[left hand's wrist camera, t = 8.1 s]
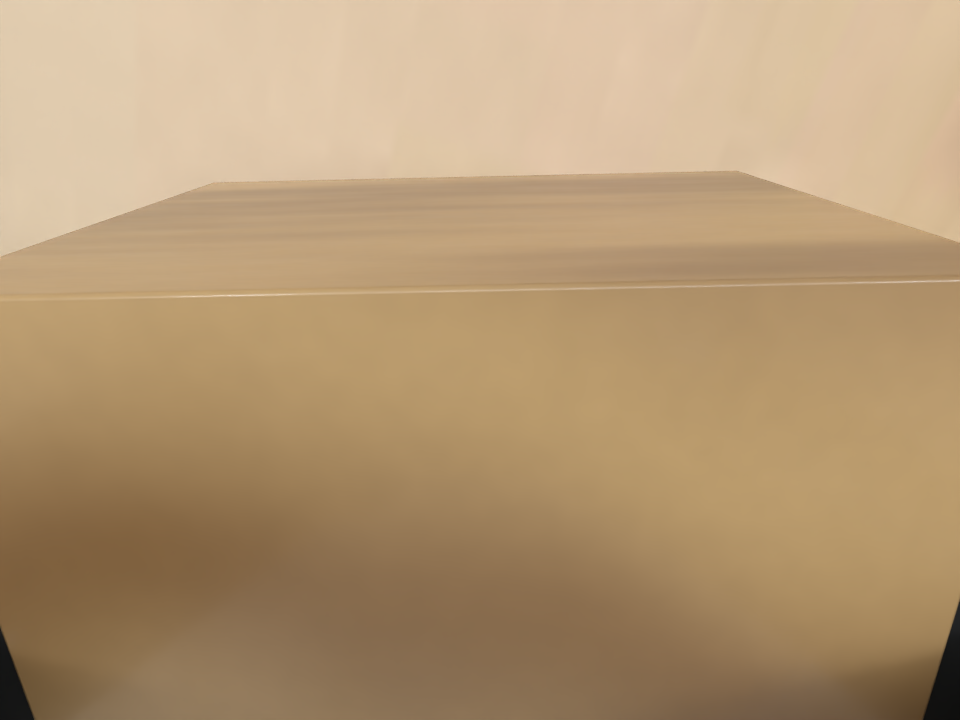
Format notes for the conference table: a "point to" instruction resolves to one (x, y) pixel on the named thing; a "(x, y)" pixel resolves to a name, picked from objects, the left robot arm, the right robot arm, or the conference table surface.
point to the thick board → (481, 454)
